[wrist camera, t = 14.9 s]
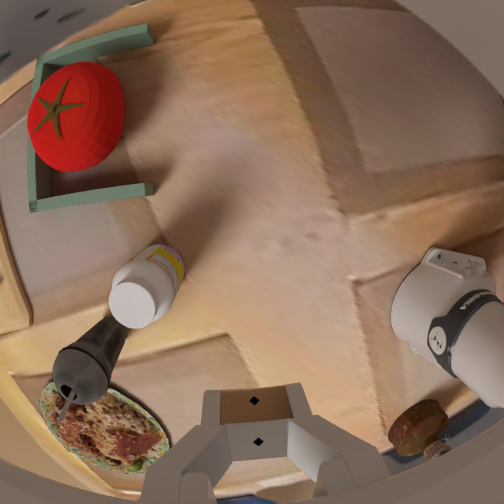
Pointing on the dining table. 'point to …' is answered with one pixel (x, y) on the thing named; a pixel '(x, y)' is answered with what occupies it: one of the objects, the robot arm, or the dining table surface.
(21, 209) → the dining table surface
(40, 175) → the corral
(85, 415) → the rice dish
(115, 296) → the supplement bottle
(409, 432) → the oil lamp
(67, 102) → the tomato
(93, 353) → the beverage cup
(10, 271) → the cutting board
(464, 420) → the dining table surface
